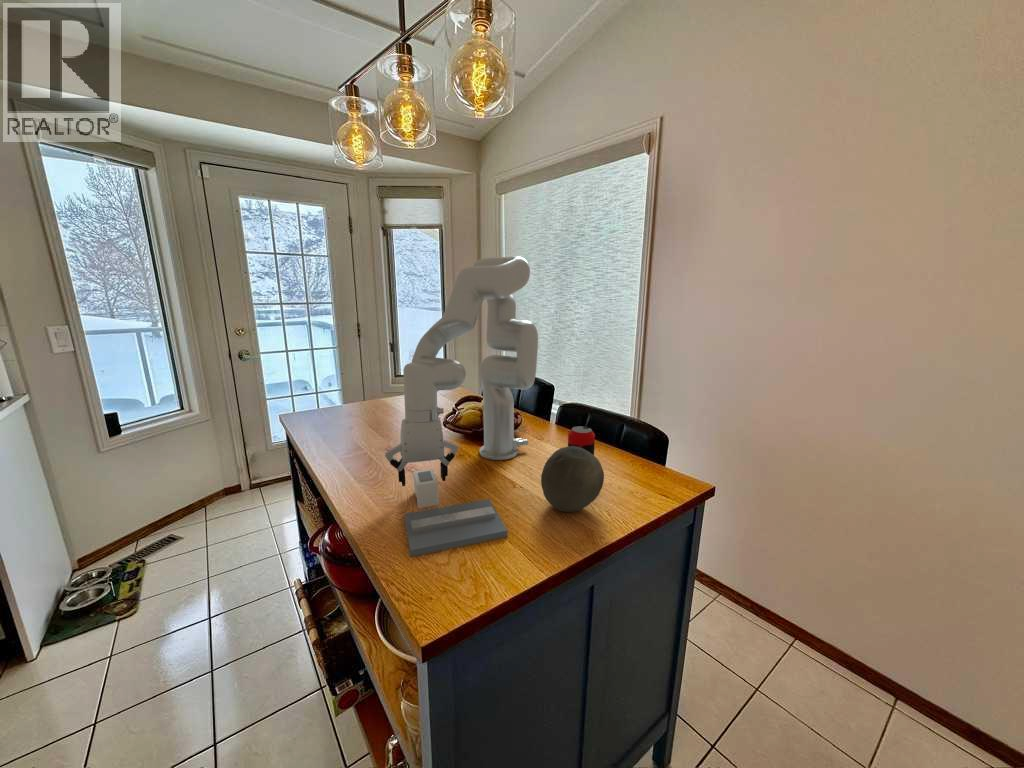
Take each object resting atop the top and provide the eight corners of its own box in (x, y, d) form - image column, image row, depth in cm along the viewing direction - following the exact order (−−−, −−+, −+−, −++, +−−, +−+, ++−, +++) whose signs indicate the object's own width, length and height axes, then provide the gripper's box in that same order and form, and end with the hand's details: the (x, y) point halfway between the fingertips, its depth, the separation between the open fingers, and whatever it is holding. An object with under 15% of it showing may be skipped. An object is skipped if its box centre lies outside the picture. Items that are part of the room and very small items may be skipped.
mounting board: (489, 504, 98) (489, 498, 97) (507, 536, 85) (507, 530, 84) (404, 519, 91) (404, 513, 91) (410, 557, 78) (410, 550, 78)
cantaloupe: (560, 530, 87) (561, 466, 84) (531, 500, 100) (531, 443, 96) (613, 516, 92) (617, 455, 89) (579, 489, 105) (581, 435, 102)
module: (434, 489, 105) (433, 467, 103) (439, 504, 97) (438, 481, 96) (414, 493, 103) (413, 470, 102) (418, 508, 96) (416, 484, 94)
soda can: (598, 468, 118) (600, 429, 115) (584, 476, 112) (585, 436, 110) (576, 460, 123) (578, 423, 120) (562, 468, 117) (563, 429, 115)
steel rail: (491, 511, 92) (491, 506, 92) (495, 517, 89) (495, 512, 89) (411, 525, 86) (410, 520, 86) (412, 533, 83) (412, 528, 83)
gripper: (454, 407, 102) (455, 471, 105) (382, 413, 96) (386, 479, 99) (460, 415, 95) (461, 483, 98) (383, 422, 89) (387, 493, 92)
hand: (423, 481), depth 99 cm, fingers open, 9 cm apart
